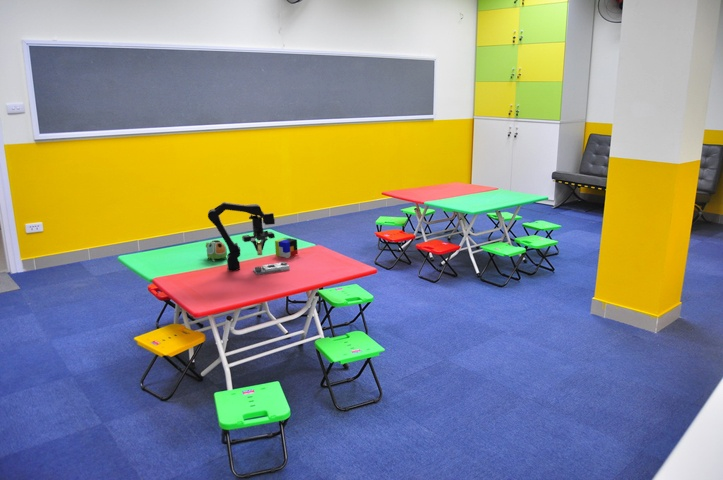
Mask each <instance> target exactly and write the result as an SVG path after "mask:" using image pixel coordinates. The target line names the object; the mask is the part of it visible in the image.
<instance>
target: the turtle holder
mask: <svg viewBox="0 0 723 480" xmlns="http://www.w3.org/2000/svg"><path fill="white" fill-rule="evenodd" d="M205 248H206V256H207V259H206V260H207V261H209V260H212V262H216V260H218V259H219V260H220V259H224V260H228V258H227V255H228V253H227V251H228V249H227V247H226V245H225V242H224V243H223V241H221V240H220V239H214V240H210V242H208V241H207V242H206V243H205Z"/></svg>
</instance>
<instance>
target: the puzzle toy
mask: <svg viewBox="0 0 723 480" xmlns="http://www.w3.org/2000/svg"><path fill="white" fill-rule="evenodd" d="M274 246H275V256H276V257H281V258H285V259H287V258H290V256H291V257H293V255H294V256H297V255H298V239H295V238H291V237H283V238H280V239H277V240H274ZM296 254H297V255H296Z"/></svg>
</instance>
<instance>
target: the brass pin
mask: <svg viewBox="0 0 723 480" xmlns="http://www.w3.org/2000/svg"><path fill="white" fill-rule="evenodd" d="M256 244H257V251H256V252H257V254H256V255H257V256H262V255H263V250H262V243H261V240H256Z"/></svg>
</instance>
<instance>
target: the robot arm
mask: <svg viewBox="0 0 723 480" xmlns="http://www.w3.org/2000/svg"><path fill="white" fill-rule="evenodd" d="M225 211H233V212H242V213H247V214H249V215H250V216H248V219H249V220H252V235H249V234H246V235H242V236H241V240H242V241H243V242H244V243H248V242H250V243H252V245H253V247H254V249H255V251H256V252H257V244H256V242H257V241H261V243H262V251H263V250H264V247H265V243H266V242H267V241H269V239H270V240H271V239H275V238H276V235H275V233H273V231H268V230H264V228H263V224H264V225H265V226H268V225H269V226H270V225H275V223H276V222H275V221H276V219H275V217H274V216H275V215H274V212H270V213H264V211H263V210H262V208H261V205H259V204H257V203H254V204H251V203H250V204H239V203H231V202H226V201H224V202H222V203H220V205H218V206H216V207H215V208H211V209H210V210H208V212H207V218H208V219H209V221H210V222H211V223H212V224H213V225H214V226H215V227H216V229H217V231H218V232H219V234H220V236H221V238H222V239H223V240H224V243H225V244H226V245H227V248H228V249H227V250H228V253H227V256H226V257H227V259H226V263H227V264H226V265H227V268H226V269H227V271H228V272H233V271H239V270H241V265H240V260H239V259H238V258H239V257H240V256H241V247H240V246H239V245H238V242H234V241H233V240H232V238H231V237H230V235H229V233H228V232H227V229H226V227H224V224H223V223H222V220H221V216H220V215H221V214H222V213H224V212H225ZM256 239H257V240H256Z"/></svg>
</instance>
